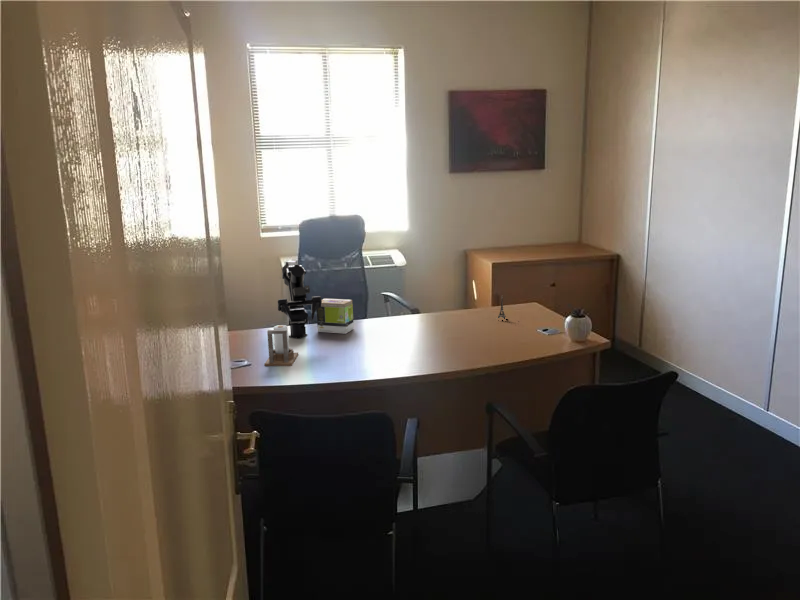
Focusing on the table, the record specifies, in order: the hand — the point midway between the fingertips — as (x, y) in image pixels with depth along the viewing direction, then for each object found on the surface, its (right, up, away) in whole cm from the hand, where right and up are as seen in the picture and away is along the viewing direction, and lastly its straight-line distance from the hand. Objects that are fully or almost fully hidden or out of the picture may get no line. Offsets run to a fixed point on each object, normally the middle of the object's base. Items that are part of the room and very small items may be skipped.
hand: (301, 320), depth 267 cm
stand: (-7, -16, -8) cm, 19 cm away
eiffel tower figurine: (+93, -2, +46) cm, 104 cm away
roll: (-7, -15, -8) cm, 18 cm away
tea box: (+11, -6, +33) cm, 35 cm away
